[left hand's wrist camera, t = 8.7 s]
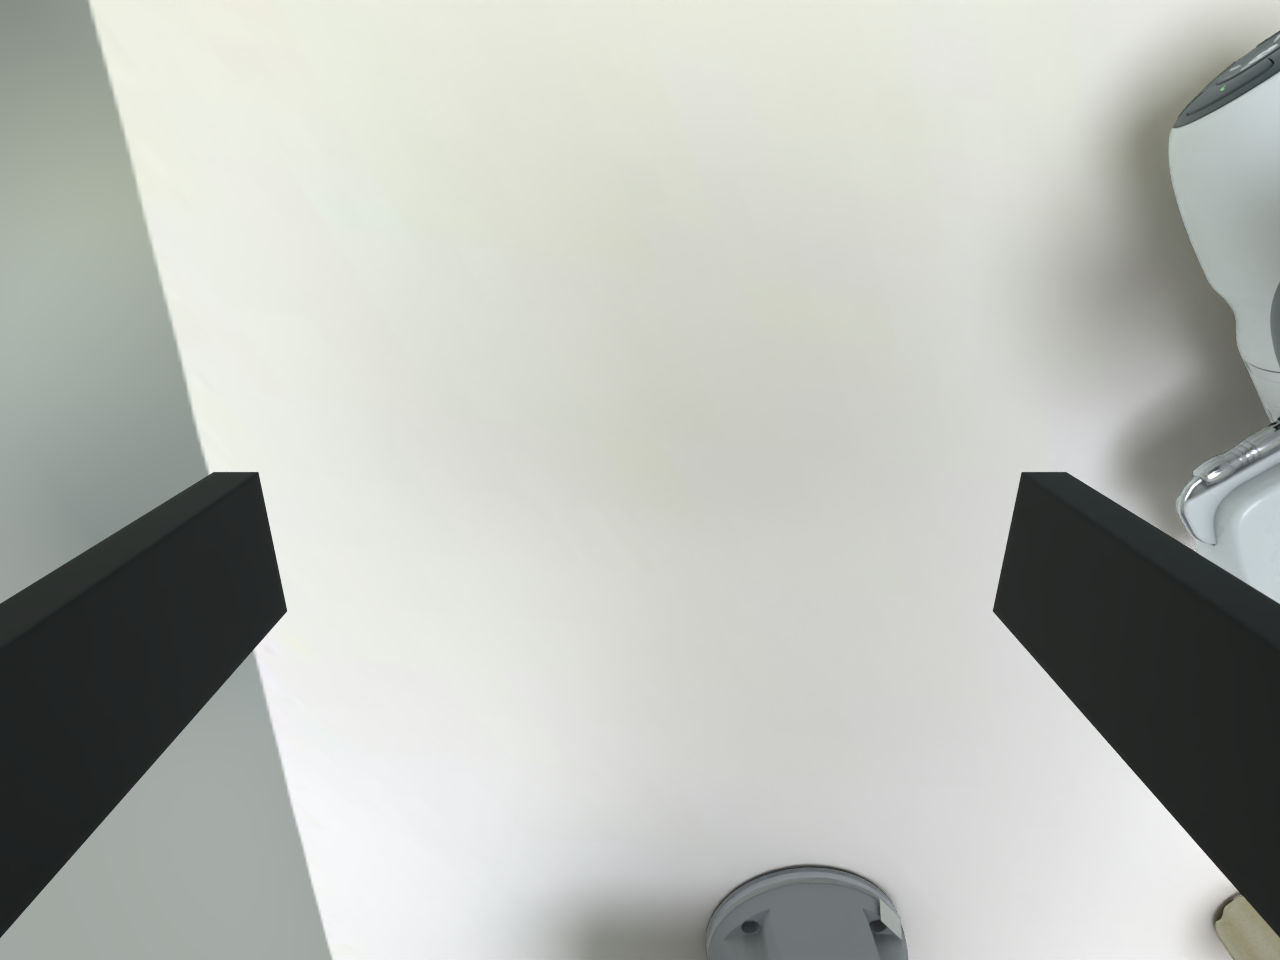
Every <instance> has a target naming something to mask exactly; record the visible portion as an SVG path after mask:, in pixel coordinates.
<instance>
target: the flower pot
mask: <svg viewBox="0 0 1280 960" xmlns="http://www.w3.org/2000/svg"><path fill="white" fill-rule="evenodd" d="M1215 929H1216V933H1217V935H1218V937H1219V939H1220V940H1221V942H1222V943H1223V945H1224V946H1225V948H1226V949H1227V951H1228V952H1229V954H1230V955H1231V957H1232V959H1233V960H1280V938H1279V936H1278V935H1277V934H1276V933H1275V932H1274V931H1273V930H1272V928H1271V927H1270V926H1269V925H1268V924H1267V923H1266V922H1265V921H1264V919H1263V918H1262V917H1261V916H1260V915H1259V914H1258V913H1257V911H1256V910H1255V909H1254V908H1253V907H1252V906H1251V905H1250V903H1249V902H1248V901H1247V900H1246V899H1245V898H1244V897H1243V896H1241V897H1239V898H1237V899H1235V900H1233V901H1232V902H1230V903H1229V904H1228V905H1226V906H1225V908H1224V911H1223V915H1222V918H1221V919H1220V920H1217V921H1216V925H1215Z"/></svg>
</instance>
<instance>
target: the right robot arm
mask: <svg viewBox="0 0 1280 960" xmlns="http://www.w3.org/2000/svg"><path fill="white" fill-rule="evenodd" d="M1168 154H1169V168H1170V174H1171V180H1172V185H1173V189H1174V193H1175V197H1176V201H1177V204H1178V207H1179V210H1180V213H1181V217H1182V220H1183V223H1184V225H1185V228H1186V231H1187V233H1188V236H1189V238H1190V241H1191V244H1192V246H1193V248H1194V251H1195V253H1196V255H1197V258H1198V260H1199V262H1200V265H1201V267H1202V269H1203V271H1204V274H1205V276H1206V278H1207V280H1208V282H1209V283H1210V285H1211V286H1212V287H1213V289H1214V290H1215V291H1216V292H1217V293H1218V294H1219V295H1221V296H1222V297H1223V298H1224V299H1225V300H1226V301H1227V302H1228V304H1229V305H1230V307H1231V308H1232V310H1233V312H1234V315H1235V319H1236V341H1237V346H1238V349H1239V352H1240V354H1241V357H1242V359H1243V361H1244V363H1245V365H1246V367H1247V370H1248V372H1249V374H1250V376H1251V379H1252V381H1253V383H1254V385H1255V388H1256V390H1257V393H1258V395H1259V397H1260V399H1261V402H1262V404H1263V406H1264V408H1265V411H1266V413H1267V415H1268V417H1269V420H1270V422H1271V424H1270V425H1268V426H1266V427H1264V428H1263V429H1261V430H1259V431H1257V432H1256V433H1254V434H1252V435H1250V436H1249V437H1247V438H1246V439H1244V440H1243V441H1242V442H1240V443H1239V444H1238V445H1236V446H1235V447H1234V448H1232V449H1230V450H1229V451H1227V452H1225V453H1223V454H1221V455H1220V456H1215V457H1213V458H1211V459H1209V460H1207V461H1205V462H1204V463H1202V464H1201V465H1199V466H1198V467H1197V468H1196V469H1195V470H1194V471H1193V476H1194V478H1193V479H1192V480H1191V481H1190V482H1189V483H1188V484H1187V485H1186V486H1185V487H1184V489H1183V490H1182V492H1181V494H1180V496H1179V497H1178V498H1177V500H1176V509H1177V512H1178V514H1179V516H1180V518H1181V520H1182V522H1183V524H1184V525H1185V527H1186V529H1187V531H1188V533H1189V534H1190V535H1191V536H1192V537H1193V538H1194V542H1195V546H1196V549H1197V552H1198V554H1200V555H1201V556H1203V557H1205V558H1206V559H1208V560H1209V561H1211V562H1213V563H1214V564H1216V565H1218V566H1219V567H1221V568H1222V569H1224V570H1226V571H1227V572H1229V573H1231V574H1232V575H1234V576H1235V577H1237V578H1239V579H1240V580H1242V581H1243V582H1245V583H1247V584H1248V585H1250V586H1252V587H1253V588H1255V589H1256V590H1258V591H1260V592H1261V593H1263V594H1265V595H1266V596H1268V597H1269V598H1271V599H1273V600H1274V601H1276V602H1278V603H1279V604H1280V31H1279V32H1277V33H1276V34H1274V35H1272V36H1271V37H1269V38H1268V39H1266V40H1265V41H1263V42H1262V43H1260V44H1259V45H1257V47H1256V48H1255V49H1253V50H1252V51H1251V52H1249V53H1248V54H1246V55H1245V56H1244V57H1242V58H1241V59H1240V60H1238V61H1236V62H1234V63H1233V64H1232V65H1230V66H1229V67H1228V68H1227V69H1226V70H1224V71H1223V72H1222V73H1221V74H1220V75H1218V76H1217V77H1216V78H1215V79H1214V80H1213V81H1212V82H1210V83H1209V84H1208V85H1207V86H1206V87H1205V88H1204V89H1203V90H1202V91H1201V92H1200V93H1199V94H1198V95H1197V96H1196V97H1195V98H1194V99H1193V100H1192V101H1191V102H1190V103H1189V104H1188V105H1187V107H1186V108H1185V109H1184V110H1183V111H1182V112H1181V114H1180V115H1179V116H1178V120H1177V121H1176V123H1175V124H1174V126H1173V128H1172V129H1171V132H1170V137H1169V148H1168Z"/></svg>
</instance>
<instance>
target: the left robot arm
mask: <svg viewBox="0 0 1280 960" xmlns="http://www.w3.org/2000/svg"><path fill="white" fill-rule="evenodd" d="M286 612H287V608H286V603H285V598H284V594H283V589H282V584H281V579H280V574H279V570H278V565H277V560H276V555H275V550H274V545H273V541H272V536H271V531H270V526H269V521H268V517H267V512H266V507H265V502H264V497H263V493H262V488H261V483H260V478H259V473H258V472H213V473H212V474H210V475H208V476H207V477H205V478H204V479H202V480H200V481H199V482H197V483H195V484H194V485H192V486H191V487H189V488H187V489H186V490H184V491H183V492H181V493H179V494H178V495H176V496H174V497H173V498H171V499H169V500H168V501H166V502H165V503H163V504H161V505H160V506H158V507H157V508H155V509H153V510H152V511H150V512H148V513H147V514H145V515H144V516H142V517H140V518H139V519H137V520H135V521H134V522H132V523H131V524H129V525H127V526H126V527H124V528H122V529H121V530H119V531H118V532H116V533H114V534H113V535H111V536H109V537H108V538H106V539H105V540H103V541H101V542H100V543H98V544H97V545H95V546H93V547H92V548H90V549H88V550H87V551H85V552H84V553H82V554H80V555H79V556H77V557H76V558H74V559H72V560H71V561H69V562H67V563H66V564H64V565H62V566H61V567H59V568H58V569H56V570H54V571H53V572H51V573H50V574H48V575H46V576H45V577H43V578H41V579H40V580H38V581H37V582H35V583H33V584H32V585H30V586H28V587H27V588H25V589H24V590H22V591H20V592H19V593H17V594H16V595H14V596H12V597H11V598H9V599H7V600H6V601H4V602H3V603H1V604H0V938H1V936H2V935H3V934H4V933H5V932H6V931H7V930H8V928H9V927H10V926H11V925H12V924H13V923H14V922H15V921H16V919H17V918H18V917H19V916H20V915H21V914H22V912H23V911H24V910H25V909H26V908H27V907H28V906H29V905H30V903H31V902H32V901H33V900H34V899H35V898H36V897H37V895H38V894H39V893H40V892H41V891H42V890H43V889H44V887H45V886H46V885H47V884H48V883H49V882H50V881H51V880H52V878H53V877H54V876H55V875H56V874H57V873H58V872H59V870H60V869H61V868H62V867H63V866H64V865H65V864H66V862H67V861H68V860H69V859H70V858H71V857H72V856H73V854H74V853H75V852H76V851H77V850H78V849H79V848H80V846H81V845H82V844H83V843H84V842H85V841H86V840H87V838H88V837H89V836H90V835H91V834H92V833H93V832H94V831H95V829H96V828H97V827H98V826H99V825H100V824H101V823H102V821H103V820H104V819H105V818H106V817H107V816H108V815H109V813H110V812H111V811H112V810H113V809H114V808H115V807H116V805H117V804H118V803H119V802H120V801H121V800H122V799H123V798H124V796H125V795H126V794H127V793H128V792H129V791H130V790H131V788H132V787H133V786H134V785H135V784H136V783H137V782H138V780H139V779H140V778H141V777H142V776H143V775H144V774H145V772H146V771H147V770H148V769H149V768H150V767H151V766H152V764H153V763H154V762H155V761H156V760H157V759H158V758H159V757H160V755H161V754H162V753H163V752H164V751H165V750H166V748H167V747H168V746H169V745H170V744H171V743H172V742H173V741H174V739H175V738H176V737H177V736H178V735H179V734H180V733H181V731H182V730H183V729H184V728H185V727H186V726H187V725H188V723H189V722H190V721H191V720H192V719H193V718H194V717H195V716H196V714H197V713H198V712H199V711H200V710H201V709H202V708H203V706H204V705H205V704H206V703H207V702H208V701H209V700H210V698H211V697H212V696H213V695H214V694H215V693H216V692H217V690H218V689H219V688H220V687H221V686H222V685H223V684H224V682H225V681H226V680H227V679H228V678H229V677H230V676H231V675H232V673H233V672H234V671H235V670H236V669H237V668H238V667H239V665H240V664H241V663H242V662H243V661H244V660H245V659H246V657H247V656H248V655H249V654H250V653H251V652H252V651H253V649H254V648H255V647H256V646H257V645H258V644H259V643H260V642H261V640H262V639H263V638H264V637H265V636H266V635H267V634H268V632H269V631H270V630H271V629H272V628H273V627H274V626H275V624H276V623H277V622H278V621H279V620H280V619H281V618H282V616H283V615H284V614H285V613H286ZM993 612H994V613H995V614H996V615H997V616H998V618H999V619H1000V620H1001V621H1002V622H1003V623H1004V624H1005V626H1006V627H1007V628H1008V629H1009V630H1010V631H1011V632H1012V634H1013V635H1014V636H1015V637H1016V638H1017V639H1018V640H1019V642H1020V643H1021V644H1022V645H1023V646H1024V647H1025V648H1026V649H1027V651H1028V652H1029V653H1030V654H1031V655H1032V656H1033V657H1034V659H1035V660H1036V661H1037V662H1038V663H1039V664H1040V665H1041V667H1042V668H1043V669H1044V670H1045V671H1046V672H1047V673H1048V675H1049V676H1050V677H1051V678H1052V679H1053V680H1054V681H1055V683H1056V684H1057V685H1058V686H1059V687H1060V688H1061V689H1062V690H1063V692H1064V693H1065V694H1066V695H1067V696H1068V697H1069V698H1070V700H1071V701H1072V702H1073V703H1074V704H1075V705H1076V706H1077V708H1078V709H1079V710H1080V711H1081V712H1082V713H1083V714H1084V716H1085V717H1086V718H1087V719H1088V720H1089V721H1090V722H1091V724H1092V725H1093V726H1094V727H1095V728H1096V729H1097V730H1098V731H1099V733H1100V734H1101V735H1102V736H1103V737H1104V738H1105V739H1106V741H1107V742H1108V743H1109V744H1110V745H1111V746H1112V747H1113V749H1114V750H1115V751H1116V752H1117V753H1118V754H1119V755H1120V757H1121V758H1122V759H1123V760H1124V761H1125V762H1126V763H1127V765H1128V766H1129V767H1130V768H1131V769H1132V770H1133V771H1134V772H1135V774H1136V775H1137V776H1138V777H1139V778H1140V779H1141V780H1142V782H1143V783H1144V784H1145V785H1146V786H1147V787H1148V788H1149V790H1150V791H1151V792H1152V793H1153V794H1154V795H1155V796H1156V798H1157V799H1158V800H1159V801H1160V802H1161V803H1162V804H1163V805H1164V807H1165V808H1166V809H1167V810H1168V811H1169V812H1170V813H1171V815H1172V816H1173V817H1174V818H1175V819H1176V820H1177V821H1178V823H1179V824H1180V825H1181V826H1182V827H1183V828H1184V829H1185V831H1186V832H1187V833H1188V834H1189V835H1190V836H1191V837H1192V839H1193V840H1194V841H1195V842H1196V843H1197V844H1198V845H1199V846H1200V848H1201V849H1202V850H1203V851H1204V852H1205V853H1206V854H1207V856H1208V857H1209V858H1210V859H1211V860H1212V861H1213V862H1214V864H1215V865H1216V866H1217V867H1218V868H1219V869H1220V870H1221V872H1222V873H1223V874H1224V875H1225V876H1226V877H1227V878H1228V880H1229V881H1230V882H1231V883H1232V884H1233V885H1234V886H1235V887H1236V889H1237V890H1238V891H1239V892H1240V893H1241V894H1242V895H1243V897H1244V898H1245V899H1246V900H1247V901H1248V902H1249V903H1250V905H1251V906H1252V907H1253V908H1254V909H1255V910H1256V911H1257V913H1258V914H1259V915H1260V916H1261V917H1262V918H1263V919H1264V921H1265V922H1266V923H1267V924H1268V925H1269V926H1270V927H1271V928H1272V930H1273V931H1274V932H1275V933H1276V934H1277V935H1278V936H1279V938H1280V604H1279V603H1278V602H1276V601H1274V600H1273V599H1271V598H1269V597H1268V596H1266V595H1265V594H1263V593H1261V592H1260V591H1258V590H1256V589H1255V588H1253V587H1252V586H1250V585H1248V584H1247V583H1245V582H1243V581H1242V580H1240V579H1239V578H1237V577H1235V576H1234V575H1232V574H1231V573H1229V572H1227V571H1226V570H1224V569H1222V568H1221V567H1219V566H1218V565H1216V564H1214V563H1213V562H1211V561H1209V560H1208V559H1206V558H1205V557H1203V556H1201V555H1200V554H1198V553H1196V552H1195V551H1193V550H1192V549H1190V548H1188V547H1187V546H1185V545H1183V544H1182V543H1180V542H1179V541H1177V540H1175V539H1174V538H1172V537H1171V536H1169V535H1167V534H1166V533H1164V532H1162V531H1161V530H1159V529H1158V528H1156V527H1154V526H1153V525H1151V524H1149V523H1148V522H1146V521H1145V520H1143V519H1141V518H1140V517H1138V516H1136V515H1135V514H1133V513H1132V512H1130V511H1128V510H1127V509H1125V508H1123V507H1122V506H1120V505H1119V504H1117V503H1115V502H1114V501H1112V500H1111V499H1109V498H1107V497H1106V496H1104V495H1102V494H1101V493H1099V492H1098V491H1096V490H1094V489H1093V488H1091V487H1089V486H1088V485H1086V484H1085V483H1083V482H1081V481H1080V480H1078V479H1076V478H1075V477H1073V476H1072V475H1070V474H1068V473H1067V472H1022V473H1021V478H1020V483H1019V488H1018V493H1017V497H1016V502H1015V507H1014V512H1013V517H1012V521H1011V526H1010V531H1009V536H1008V541H1007V545H1006V550H1005V555H1004V560H1003V565H1002V569H1001V574H1000V579H999V584H998V589H997V594H996V598H995V603H994V608H993ZM706 951H707V960H908V951H907V945H906V940H905V936H904V931H903V928H902V926H901V922H900V917H899V916H898V915H897V912H896V910H895V908H894V906H893V904H892V902H891V901H890V900H889V898H888V897H887V896H886V895H885V894H884V893H883V892H882V891H881V890H880V889H879V888H877V887H876V886H875V885H873V884H872V883H870V882H868V881H866V880H865V879H863V878H860V877H858V876H856V875H853V874H850V873H847V872H843V871H839V870H834V869H828V868H812V867H808V868H794V869H787V870H782V871H778V872H774V873H770V874H767V875H764V876H761V877H759V878H757V879H754V880H752V881H750V882H748V883H746V884H745V885H743V886H741V887H740V888H738V889H737V890H735V891H734V892H733V893H731V894H730V895H729V896H728V897H727V898H726V899H725V900H724V901H723V902H722V903H721V904H720V905H719V906H718V908H717V909H716V911H715V912H714V914H713V916H712V917H711V919H710V922H709V924H708V928H707V932H706Z"/></svg>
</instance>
